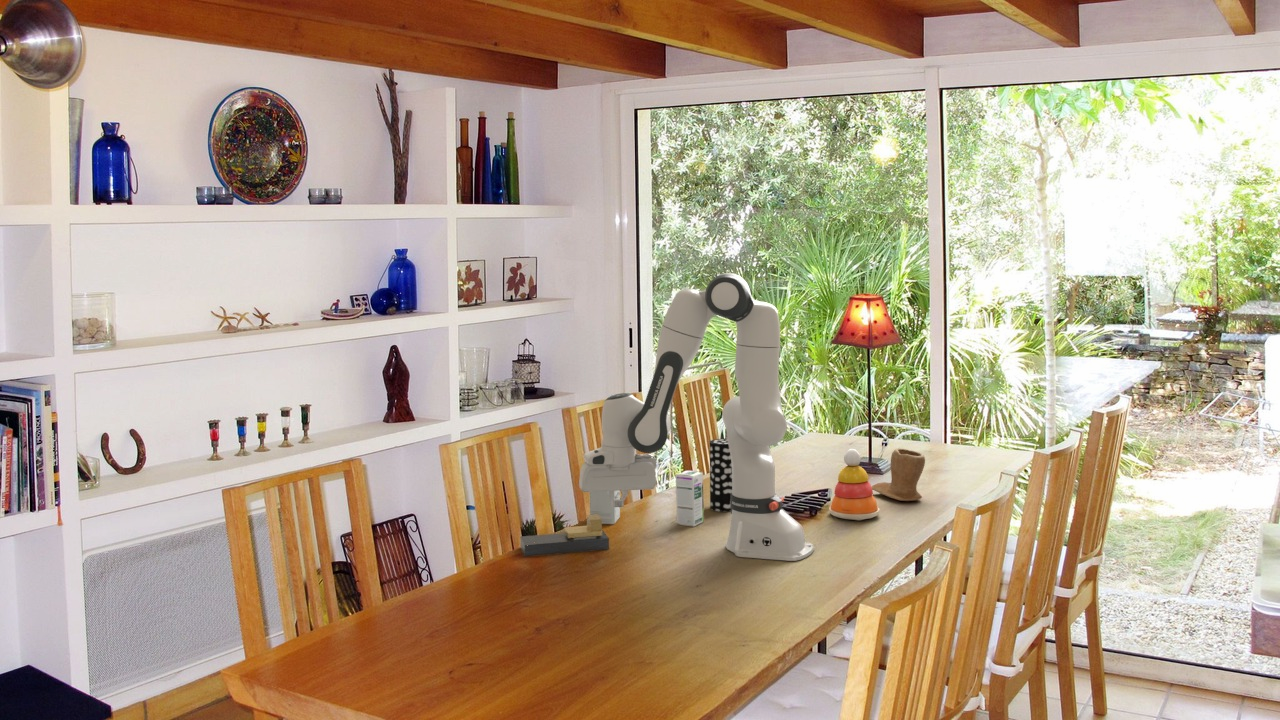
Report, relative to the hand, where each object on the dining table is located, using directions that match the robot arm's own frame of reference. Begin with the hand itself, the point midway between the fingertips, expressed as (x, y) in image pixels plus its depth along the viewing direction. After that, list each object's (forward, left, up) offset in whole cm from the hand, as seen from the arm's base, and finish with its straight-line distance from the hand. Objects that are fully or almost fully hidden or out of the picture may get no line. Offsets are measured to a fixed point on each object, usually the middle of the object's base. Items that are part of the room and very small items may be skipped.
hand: (617, 506), depth 290 cm
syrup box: (-9, -26, -10) cm, 29 cm away
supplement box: (+14, -18, -10) cm, 25 cm away
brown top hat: (-54, -79, -10) cm, 96 cm away
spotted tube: (-11, -45, -10) cm, 48 cm away
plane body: (+10, +10, -10) cm, 18 cm away
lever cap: (+7, +6, -6) cm, 11 cm away
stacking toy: (-48, -53, -10) cm, 72 cm away
